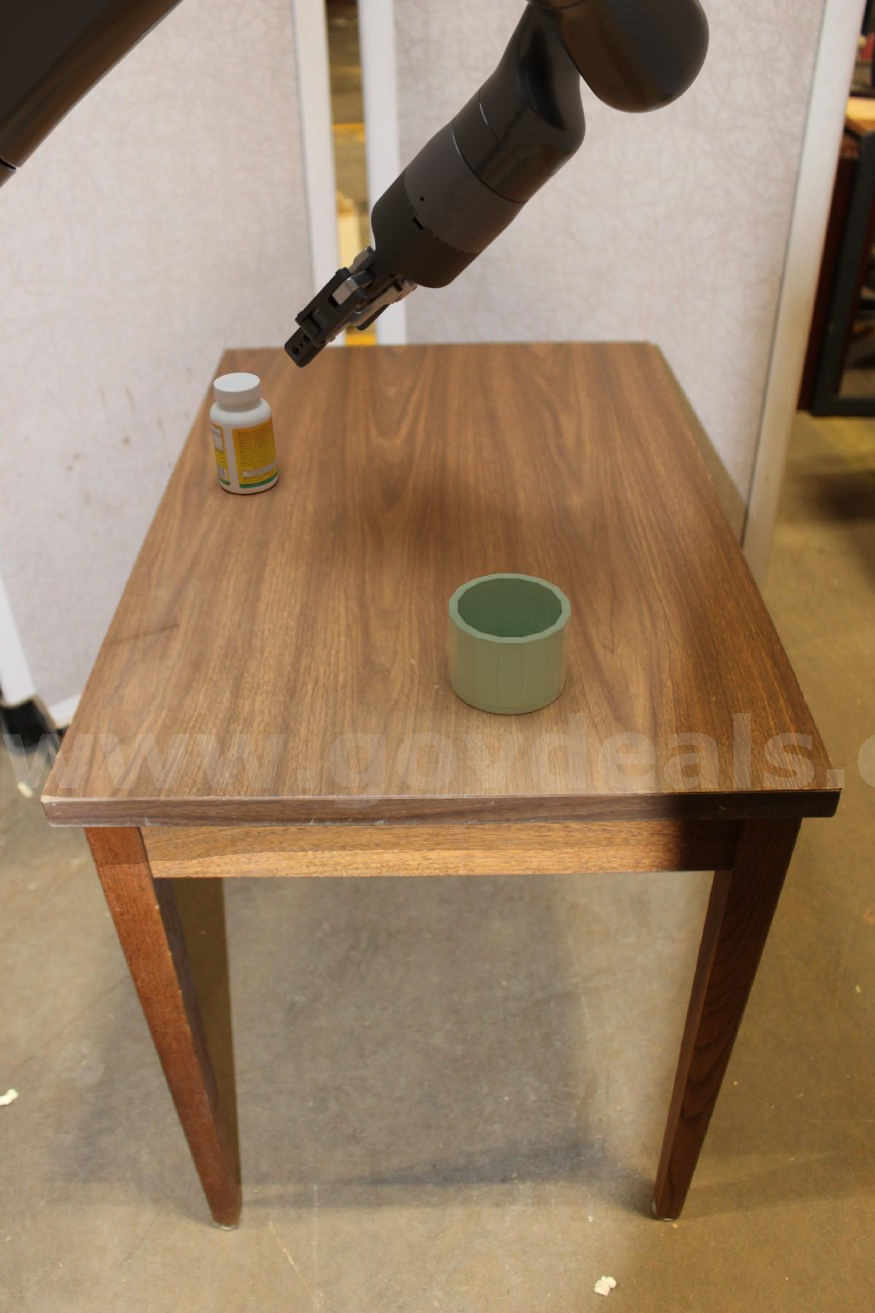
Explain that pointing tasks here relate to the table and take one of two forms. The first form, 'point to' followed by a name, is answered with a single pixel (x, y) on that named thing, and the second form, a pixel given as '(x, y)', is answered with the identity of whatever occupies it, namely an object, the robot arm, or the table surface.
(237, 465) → the supplement bottle
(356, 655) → the table surface
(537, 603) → the holder
